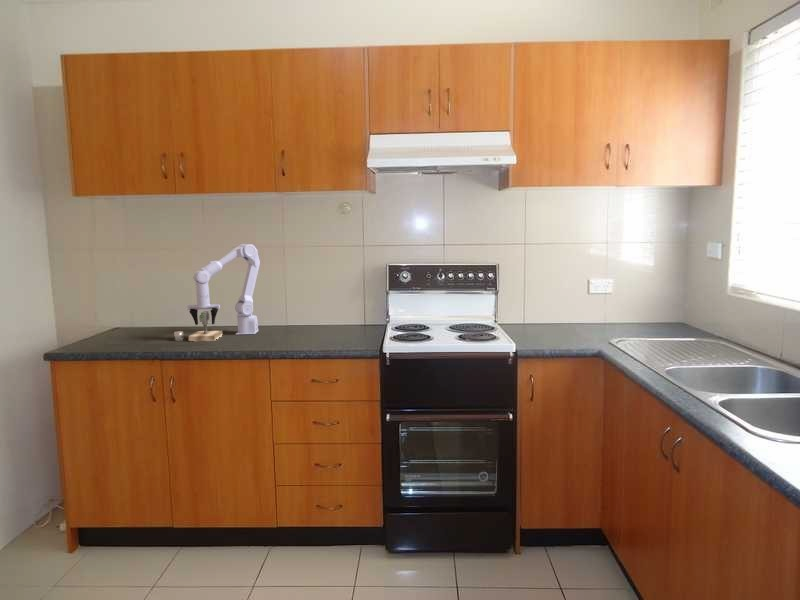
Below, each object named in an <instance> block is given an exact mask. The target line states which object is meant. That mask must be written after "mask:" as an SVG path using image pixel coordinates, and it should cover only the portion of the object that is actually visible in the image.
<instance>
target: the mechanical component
mask: <svg viewBox="0 0 800 600" xmlns="http://www.w3.org/2000/svg"><path fill="white" fill-rule="evenodd" d="M210 317H211V316H210V310H207V311H206V310H205V311H202V312H200V315H199V317H198V321H199V323H201V325H202V326H203V331H204V334H205V331H206V334H207V331H208V325H209V323H208V321H209V320H210Z"/></svg>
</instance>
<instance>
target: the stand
mask: <svg viewBox="0 0 800 600" xmlns="http://www.w3.org/2000/svg"><path fill="white" fill-rule="evenodd" d="M222 335H223V330H207V334H206V331H205V334H204V330H200V331H199V330H197V331H195V332H194V333H192V334H190V335H188V342H189V341H194V342H215V341H217V340H218V339H220V338H221V337H223V336H222ZM219 337H220V338H219ZM216 339H217V340H216Z"/></svg>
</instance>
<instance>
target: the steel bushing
mask: <svg viewBox="0 0 800 600" xmlns="http://www.w3.org/2000/svg"><path fill="white" fill-rule="evenodd" d="M173 335H174V342H180V341H179V340H182V341H184V340H185V339H184V331H183V330H178V331H174V332H173ZM183 339H184V340H183Z"/></svg>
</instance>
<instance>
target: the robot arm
mask: <svg viewBox="0 0 800 600" xmlns="http://www.w3.org/2000/svg"><path fill="white" fill-rule="evenodd" d="M258 253H259V250H258V249H257V248H256V246H255V245H254V244H251V243H250V244H247V243H241V244H240V245H239V246H236V247H234V248H233V249H232V250H230V251H229V252H228V253H226V254H225V255H224V256H223V257H222V258H221V257H220V259H219V260H211V261H209V263H208V264H206V266H204V267H201V268H200V270H197V271H195V273H194V274H193V280H194V281H195V294H196V304H193V305H192V304H191V305H187V306H186V308H187V311H189V313H190V315H191V317H192V319H193V321H194V322H193V323H194V324H195V326H198V325H199V317H198V310H210V315H211V316H210V317H211V325H215V321H216V317H217V314H218V312H219V310H220V308H221V305H220V304H218V303H217V304H214V303H213V304H211V303H210V302H211V300H210V299H211V298H210V287H209V281H210V279H211V278H212V277H214V276H216V275H218V274H219V273H220V272H221V271H223V270H222V269H223V267H224V266H225V265H227V264H229V263H230V262H232V261H233V260H235V259H236V258H243V259H244V260H245V262H246V263H247V264H248V266H247V269H246V273H245V277H244V282H243V286H242V292H241V295H240V296H239V298H238V301H237V302H236V303H235V306H234V310H235V311H236V312H237V314H236V319H237V321H236V322H237V332H236V333H235V335H256V334H257V333H258V332H259V323H258V322H259V320H258V316H257V315H253V313H254V300H253V295H254V291H255V287H256V282H257V278H258V275H259V274H258V273H259V270H260V265H261V261H260V257H259V254H258Z"/></svg>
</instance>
